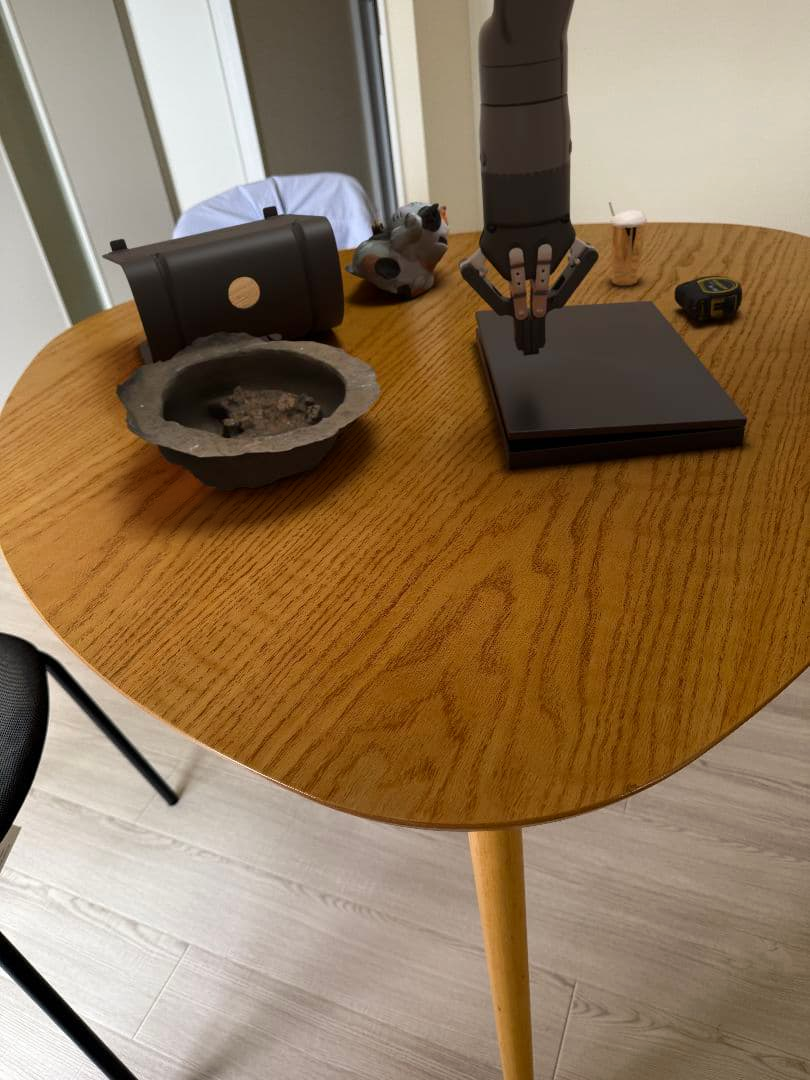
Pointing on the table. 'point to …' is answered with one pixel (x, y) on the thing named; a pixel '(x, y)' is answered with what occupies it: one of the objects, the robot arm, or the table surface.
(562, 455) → the laptop
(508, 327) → the laptop screen
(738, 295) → the tape measure
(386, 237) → the lucky cat figurine
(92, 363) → the table surface
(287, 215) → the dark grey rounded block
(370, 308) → the table surface
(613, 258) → the milkshake
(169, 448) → the stone bowl
